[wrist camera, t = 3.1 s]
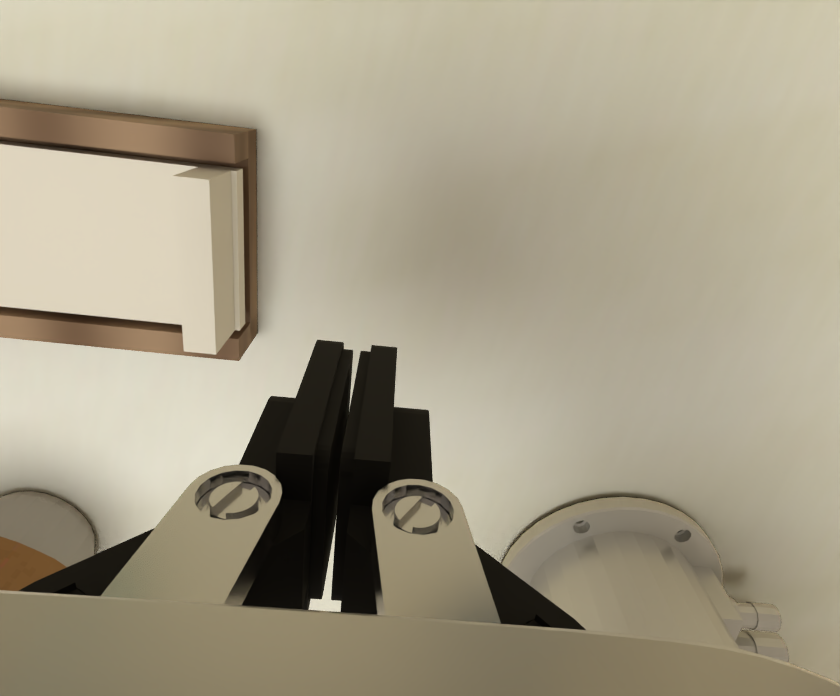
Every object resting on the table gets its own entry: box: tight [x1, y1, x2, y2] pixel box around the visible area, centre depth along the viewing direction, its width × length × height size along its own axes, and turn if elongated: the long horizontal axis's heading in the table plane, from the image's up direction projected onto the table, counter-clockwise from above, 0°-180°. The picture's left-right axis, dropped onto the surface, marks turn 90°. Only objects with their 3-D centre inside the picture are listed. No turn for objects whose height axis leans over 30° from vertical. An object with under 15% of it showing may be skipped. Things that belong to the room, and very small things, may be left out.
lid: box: [0, 141, 245, 355], centre depth 21 cm, size 14×6×3 cm, turn 84°
